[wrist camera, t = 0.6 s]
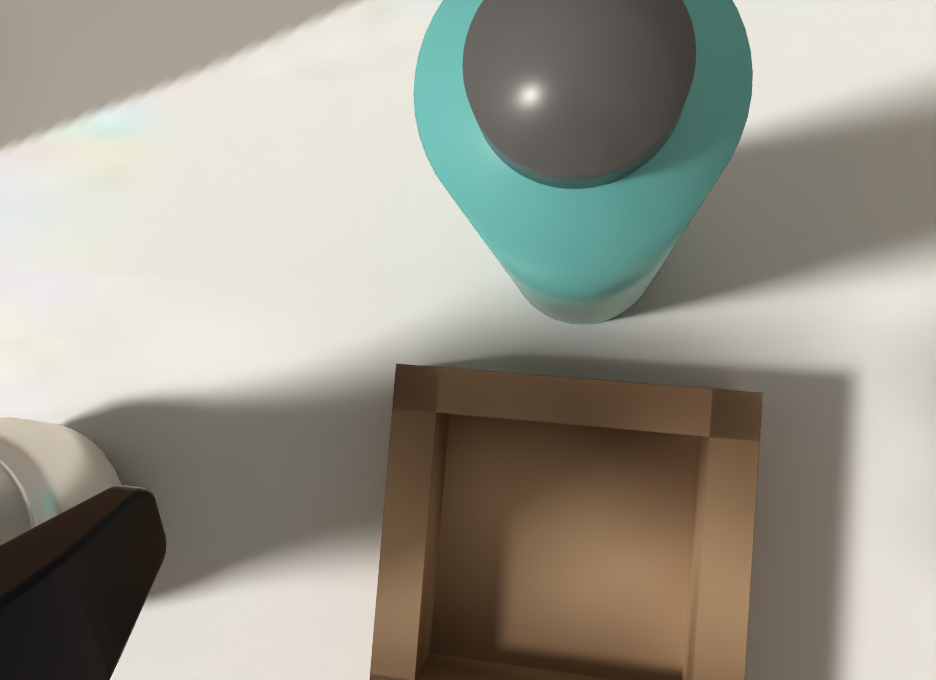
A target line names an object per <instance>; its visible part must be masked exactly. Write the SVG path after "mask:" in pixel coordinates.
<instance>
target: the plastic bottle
mask: <svg viewBox="0 0 936 680" xmlns="http://www.w3.org/2000/svg"><path fill="white" fill-rule="evenodd" d="M116 485H121V482H120V480H119V478H118V475H117V473H116V471H115V469H114V468H113V466H112V465H111V463H110V462H109V460H108V459H107V457H106V456H105V454H104V453H103V452H102V451H101V450H100V449H99V448H98V447H97V446H96V445H95V444H94V443H93V442H92V441H91V440H90V439H88V438H87V437H85V436H83V435H82V434H80V433H79V432H77V431H75V430H73V429H70V428H67V427H65V426H62V425H59V424H53V423H46V422H39V421H33V420H25V419H18V418H0V545H1V544H3V543H5V542H7V541H9V540H11V539H13V538H15V537H16V536H18V535H20V534H22V533H24V532H26V531H28V530H30V529H32V528H34V527H36V526H37V525H39V524H41V523H43V522H45V521H47V520H49V519H51V518H53V517H55V516H56V515H58V514H60V513H62V512H64V511H66V510H68V509H70V508H72V507H74V506H76V505H77V504H79V503H81V502H83V501H85V500H87V499H89V498H91V497H93V496H95V495H96V494H98V493H100V492H102V491H104V490H106V489H108V488H110V487H112V486H116Z"/></svg>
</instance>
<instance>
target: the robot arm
mask: <svg viewBox="0 0 936 680" xmlns="http://www.w3.org/2000/svg"><path fill="white" fill-rule="evenodd" d="M165 553H166V537H165V533H164V530H163V526H162V522H161V519H160V515H159V511H158V508H157V504H156V500H155V497H154V495H153V493H152V492H151V491H150V490H149V489H146V488H144V487H135V486H126V485H116V486H112V487H110V488H108V489H106V490H104V491H102V492H100V493H98V494H96V495H95V496H93V497H91V498H89V499H87V500H85V501H83V502H81V503H79V504H77V505H76V506H74V507H72V508H70V509H68V510H66V511H64V512H62V513H60V514H58V515H56V516H55V517H53V518H51V519H49V520H47V521H45V522H43V523H41V524H39V525H37V526H36V527H34V528H32V529H30V530H28V531H26V532H24V533H22V534H20V535H18V536H16V537H15V538H13V539H11V540H9V541H7V542H5V543H3V544H1V545H0V680H110V678H111V676H112V674H113V672H114V669H115V667H116V665H117V663H118V661H119V659H120V657H121V655H122V652H123V650H124V648H125V646H126V643H127V641H128V639H129V637H130V634H131V632H132V630H133V628H134V625H135V623H136V621H137V619H138V616H139V614H140V612H141V610H142V607H143V605H144V603H145V601H146V598H147V596H148V594H149V592H150V589H151V587H152V585H153V583H154V580H155V578H156V576H157V574H158V571H159V569H160V567H161V565H162V562H163V560H164V556H165Z"/></svg>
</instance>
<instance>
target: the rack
mask: <svg viewBox="0 0 936 680" xmlns="http://www.w3.org/2000/svg"><path fill="white" fill-rule="evenodd" d="M762 394H763V393H756V392H744V391H731V390H719V389H706V388H694V387H681V386H668V385H656V384H643V383H631V382H618V381H606V380H593V379H581V378H568V377H555V376H543V375H530V374H518V373H505V372H493V371H480V370H467V369H455V368H442V367H430V366H417V365H405V364H396V372H395V384H394V396H393V408H392V420H391V432H390V444H389V456H388V467H387V479H386V491H385V503H384V515H383V527H382V539H381V551H380V563H379V575H378V586H377V598H376V610H375V622H374V634H373V646H372V658H371V670H370V680H744V677H745V662H746V646H747V630H748V614H749V599H750V583H751V567H752V552H753V536H754V520H755V504H756V489H757V473H758V457H759V442H760V426H761V410H762Z"/></svg>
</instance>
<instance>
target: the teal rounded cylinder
mask: <svg viewBox="0 0 936 680" xmlns="http://www.w3.org/2000/svg"><path fill="white" fill-rule="evenodd" d="M752 75H753V71H752V61H751V51H750V46H749V42H748V38H747V34H746V30H745V27H744V25H743V22H742V20H741V17H740V15H739V12H738V10H737V8H736V6H735V4H734V2H733V1H732V0H443V1H442V3H441V5H440V6H439V8H438V9H437V11H436V12H435V14H434V16H433V18H432V20H431V23H430V25H429V27H428V29H427V31H426V33H425V36H424V39H423V42H422V45H421V48H420V51H419V55H418V61H417V66H416V71H415V81H414V107H415V117H416V122H417V127H418V132H419V136H420V139H421V142H422V145H423V148H424V151H425V154H426V156H427V158H428V160H429V162H430V164H431V166H432V168H433V170H434V172H435V174H436V175H437V177H438V178H439V180H440V181H441V182H442V184H443V185H444V187H445V188H446V190H447V191H448V192H449V194H450V195H451V197H452V198H453V199H454V201H455V202H456V203H457V205H458V206H459V208H460V209H461V210H462V212H463V213H464V214H465V216H466V217H467V218H468V220H469V221H470V223H471V224H472V225H473V227H474V228H475V229H476V231H477V232H478V234H479V235H480V236H481V238H482V239H483V240H484V242H485V243H486V245H487V246H488V247H489V249H490V250H491V251H492V253H493V254H494V255H495V257H496V258H497V260H498V261H499V262H500V264H501V265H502V266H503V268H504V269H505V271H506V272H507V273H508V275H509V276H510V277H511V279H512V280H513V282H514V283H515V284H516V286H517V287H518V288H519V290H520V291H521V293H522V294H523V295H524V297H525V298H526V299H527V300H528V301H529V302H530V303H531V304H532V305H533V306H534V307H535V308H536V309H538V310H539V311H540V312H542V313H544V314H545V315H547V316H549V317H551V318H553V319H555V320H559V321H562V322H565V323H571V324H594V323H599V322H603V321H606V320H609V319H612V318H614V317H616V316H618V315H620V314H622V313H623V312H625V311H626V310H627V309H629V308H630V307H631V306H632V305H634V304H635V303H636V302H637V301H638V300H639V298H640V297H641V296H642V295H643V294H644V292H645V291H646V289H647V287H648V286H649V284H650V283H651V281H652V280H653V278H654V277H655V275H656V274H657V272H658V270H659V269H660V267H661V266H662V264H663V263H664V261H665V260H666V258H667V257H668V255H669V253H670V252H671V250H672V249H673V247H674V246H675V244H676V243H677V241H678V240H679V238H680V236H681V235H682V233H683V232H684V230H685V229H686V227H687V226H688V224H689V223H690V221H691V219H692V218H693V216H694V215H695V213H696V212H697V210H698V209H699V207H700V206H701V204H702V202H703V201H704V199H705V198H706V196H707V195H708V193H709V192H710V190H711V188H712V187H713V185H714V184H715V182H716V181H717V179H718V178H719V176H720V175H721V173H722V171H723V170H724V168H725V167H726V165H727V164H728V162H729V161H730V159H731V157H732V155H733V153H734V151H735V149H736V147H737V145H738V143H739V141H740V138H741V135H742V132H743V129H744V126H745V123H746V120H747V117H748V112H749V106H750V101H751V96H752Z"/></svg>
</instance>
